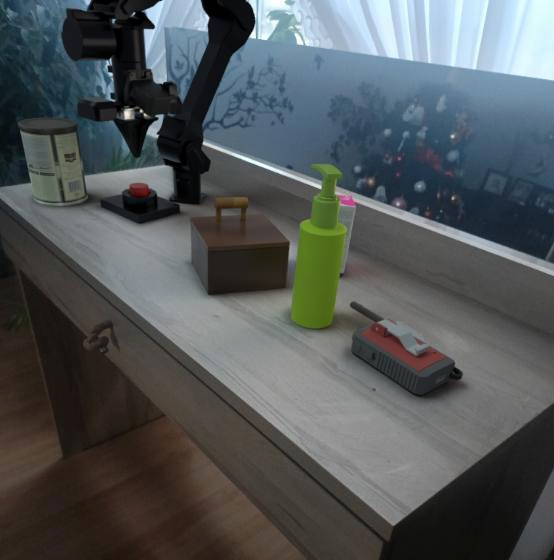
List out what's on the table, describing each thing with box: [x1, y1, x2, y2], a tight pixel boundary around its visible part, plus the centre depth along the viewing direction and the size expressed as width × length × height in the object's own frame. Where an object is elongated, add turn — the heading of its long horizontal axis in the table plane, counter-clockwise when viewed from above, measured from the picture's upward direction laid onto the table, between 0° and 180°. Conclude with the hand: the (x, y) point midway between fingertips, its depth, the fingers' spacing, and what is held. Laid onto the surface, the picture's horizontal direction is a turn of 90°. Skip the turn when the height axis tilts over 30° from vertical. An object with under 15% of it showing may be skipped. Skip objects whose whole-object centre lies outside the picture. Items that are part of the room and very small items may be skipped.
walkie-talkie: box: [349, 300, 464, 396], centre depth 65 cm, size 9×4×20 cm
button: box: [128, 182, 150, 196], centre depth 99 cm, size 4×4×2 cm
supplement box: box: [317, 192, 357, 277], centre depth 82 cm, size 6×6×12 cm
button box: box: [99, 188, 181, 225], centre depth 100 cm, size 10×12×4 cm
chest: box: [190, 224, 290, 296], centre depth 79 cm, size 11×12×7 cm
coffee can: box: [17, 117, 89, 207], centre depth 99 cm, size 10×10×14 cm
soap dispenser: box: [290, 163, 347, 330], centre depth 66 cm, size 6×7×20 cm
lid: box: [189, 196, 291, 252], centre depth 76 cm, size 12×12×4 cm
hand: (136, 157), depth 96 cm, fingers closed
